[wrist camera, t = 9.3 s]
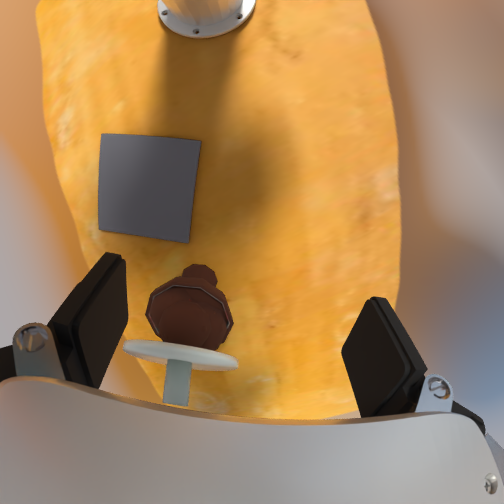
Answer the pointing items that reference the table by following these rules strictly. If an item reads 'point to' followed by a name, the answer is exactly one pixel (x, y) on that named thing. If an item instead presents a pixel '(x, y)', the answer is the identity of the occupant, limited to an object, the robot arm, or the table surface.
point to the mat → (147, 185)
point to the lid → (179, 364)
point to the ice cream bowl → (190, 310)
